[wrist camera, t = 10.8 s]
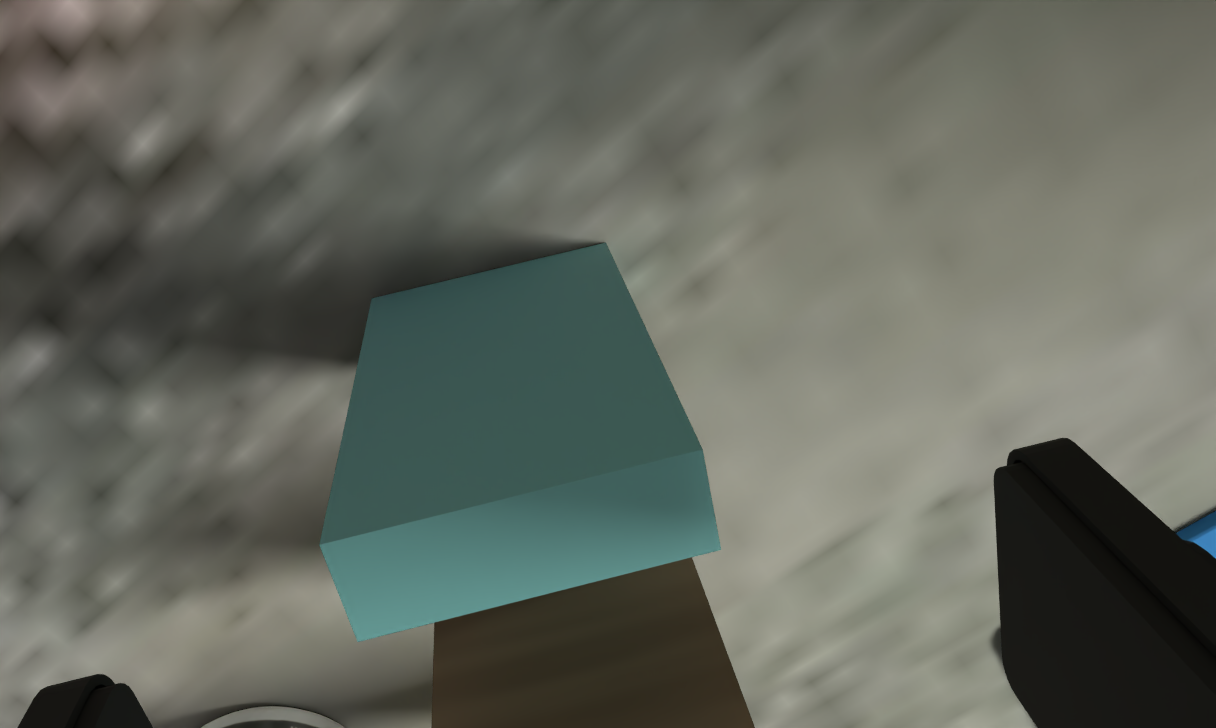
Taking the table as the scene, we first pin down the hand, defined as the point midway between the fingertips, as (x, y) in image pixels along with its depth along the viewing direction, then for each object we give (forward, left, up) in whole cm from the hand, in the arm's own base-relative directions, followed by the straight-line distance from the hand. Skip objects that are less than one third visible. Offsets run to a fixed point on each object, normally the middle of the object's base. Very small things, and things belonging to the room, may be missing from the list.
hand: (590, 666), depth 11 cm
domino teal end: (+1, 0, -12) cm, 12 cm away
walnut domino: (+1, +5, -12) cm, 13 cm away
